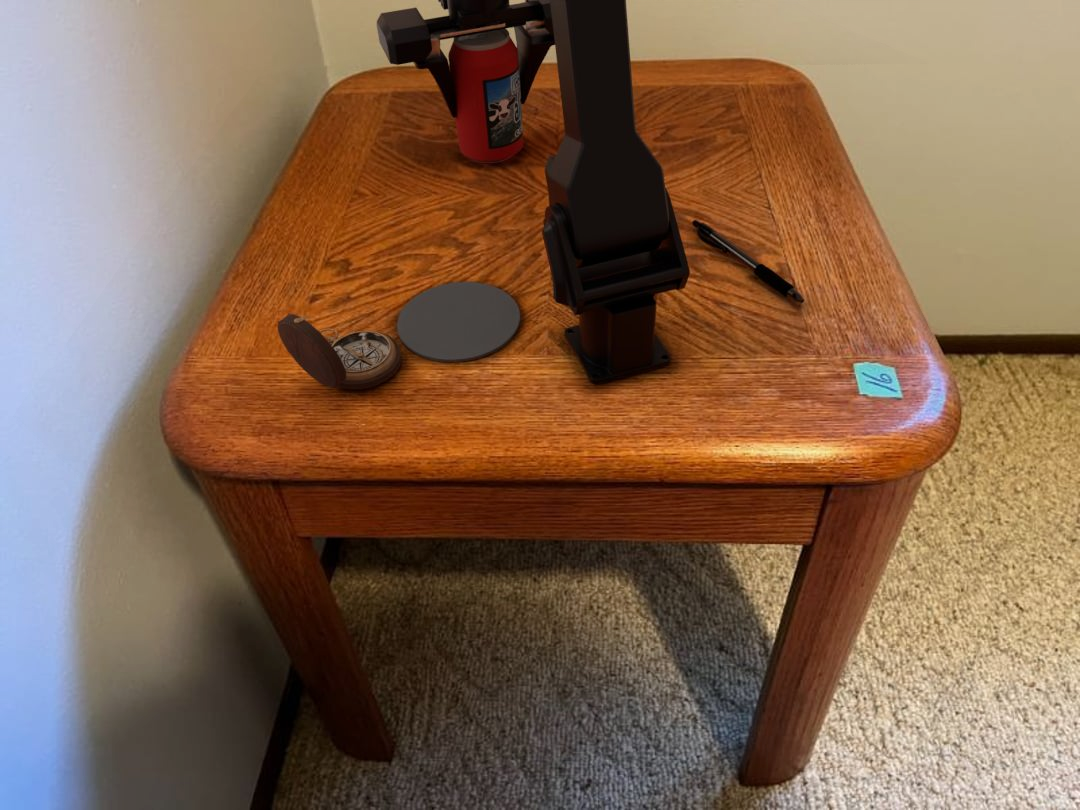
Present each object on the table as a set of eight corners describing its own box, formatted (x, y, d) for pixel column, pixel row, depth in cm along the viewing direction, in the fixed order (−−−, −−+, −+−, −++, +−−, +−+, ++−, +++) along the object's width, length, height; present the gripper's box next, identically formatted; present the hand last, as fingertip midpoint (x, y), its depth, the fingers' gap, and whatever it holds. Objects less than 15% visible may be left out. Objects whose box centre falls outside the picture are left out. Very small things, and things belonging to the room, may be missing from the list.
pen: (683, 231, 77) (684, 220, 76) (698, 225, 77) (699, 214, 77) (791, 311, 68) (793, 300, 67) (806, 304, 68) (809, 293, 68)
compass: (419, 358, 66) (405, 282, 61) (342, 416, 62) (320, 340, 57) (351, 320, 70) (332, 245, 65) (274, 372, 66) (247, 297, 61)
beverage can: (516, 169, 86) (507, 50, 78) (452, 165, 87) (437, 47, 79) (530, 138, 91) (523, 22, 83) (469, 135, 92) (456, 20, 84)
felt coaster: (536, 343, 67) (536, 340, 67) (412, 375, 65) (411, 372, 65) (500, 273, 74) (499, 271, 73) (386, 300, 72) (385, 297, 71)
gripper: (543, -99, 82) (548, 61, 93) (352, -70, 78) (381, 92, 90) (584, -65, 75) (585, 105, 86) (375, -32, 71) (404, 141, 82)
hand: (487, 109), depth 86 cm, fingers closed on beverage can, 7 cm apart
